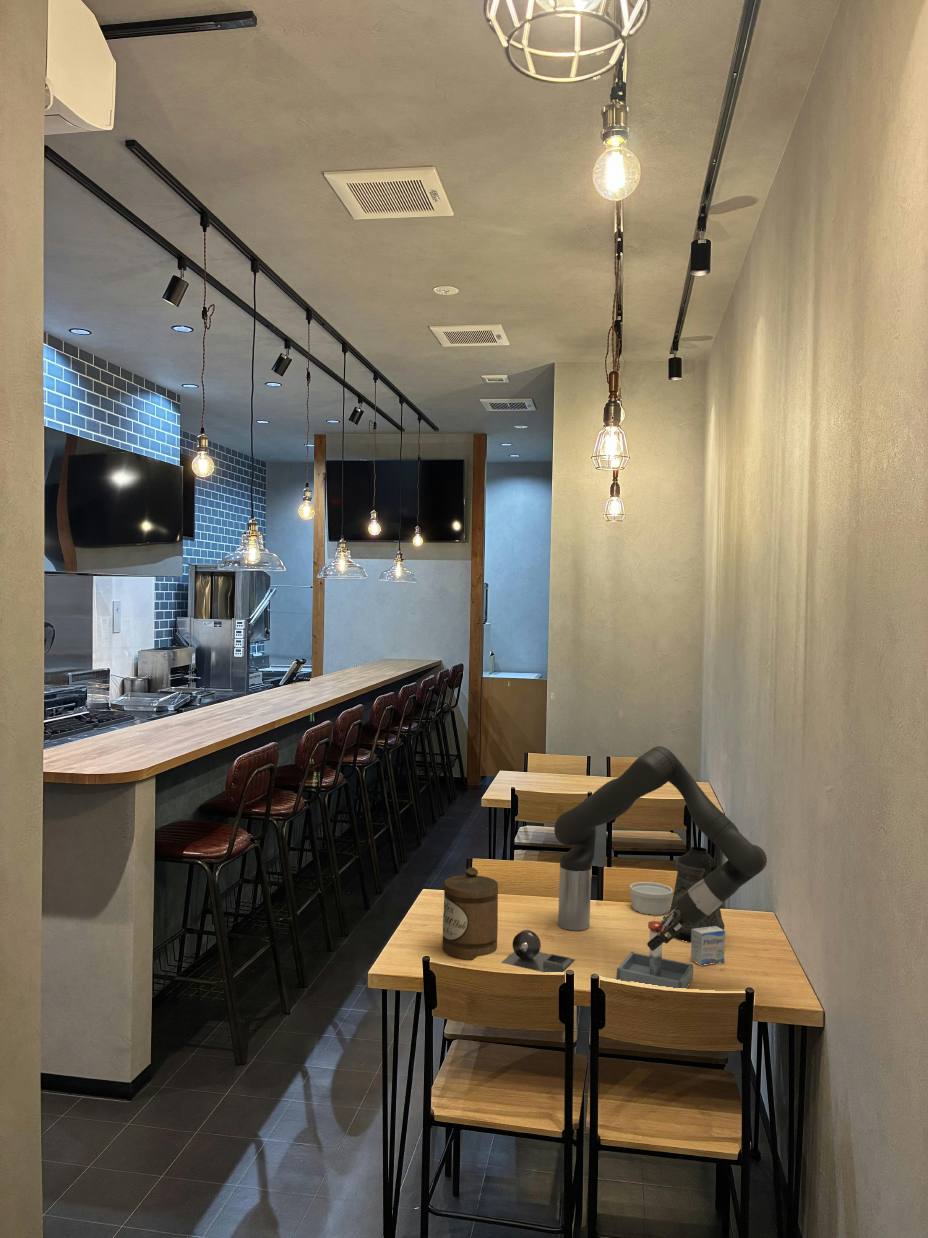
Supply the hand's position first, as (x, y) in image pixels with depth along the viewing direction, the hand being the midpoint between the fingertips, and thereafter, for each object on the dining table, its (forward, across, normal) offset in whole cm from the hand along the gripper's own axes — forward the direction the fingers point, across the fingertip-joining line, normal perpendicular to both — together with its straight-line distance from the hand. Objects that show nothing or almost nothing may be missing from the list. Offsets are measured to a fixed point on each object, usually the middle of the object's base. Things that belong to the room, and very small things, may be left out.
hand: (650, 941), depth 219 cm
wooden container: (+41, -3, -27) cm, 49 cm away
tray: (+6, 0, +8) cm, 10 cm away
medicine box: (-3, -18, +17) cm, 25 cm away
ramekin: (+10, -56, +4) cm, 57 cm away
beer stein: (-1, -38, +15) cm, 41 cm away
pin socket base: (+27, +1, -13) cm, 30 cm away
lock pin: (+5, 0, +7) cm, 9 cm away
